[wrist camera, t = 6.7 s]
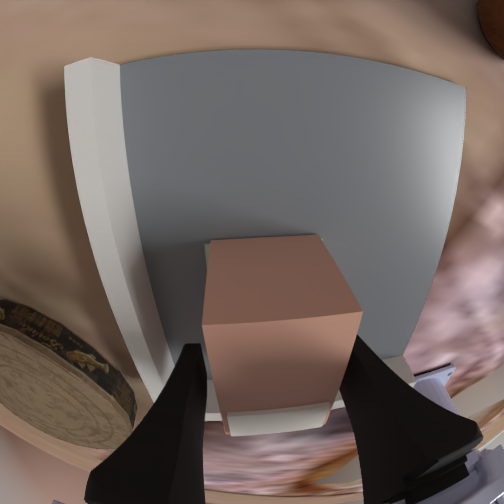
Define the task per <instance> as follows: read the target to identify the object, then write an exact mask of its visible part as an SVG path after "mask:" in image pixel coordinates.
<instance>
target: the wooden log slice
mask: <svg viewBox="0 0 504 504" xmlns="http://www.w3.org/2000/svg"><path fill="white" fill-rule="evenodd" d="M0 402H1V403H2V404H3V405H4V406H5V407H6V408H8V409H9V410H10V411H11V412H12V413H14V414H15V415H17V416H18V417H20V418H21V419H23V420H24V421H26V422H27V423H29V424H30V425H32V426H33V427H35V428H37V429H39V430H41V431H43V432H45V433H47V434H49V435H51V436H53V437H55V438H58V439H61V440H63V441H66V442H69V443H72V444H75V445H79V446H84V447H89V448H95V449H116V448H118V447H119V446H120V445H121V444H122V443H123V442H124V441H125V440H126V439H127V438H128V437H129V436H130V434H131V433H132V432H133V426H134V421H135V415H136V410H137V405H136V400H135V396H134V392H133V390H132V388H131V387H130V386H129V384H128V383H127V381H126V380H125V379H124V377H123V376H122V374H121V373H120V371H119V370H118V369H117V368H116V367H115V366H114V365H113V364H111V363H110V362H109V361H108V360H107V359H106V358H105V357H104V356H103V355H102V354H101V353H100V352H99V351H98V350H97V349H96V348H95V347H94V346H92V345H91V344H89V343H88V342H86V341H85V340H84V339H82V338H81V337H79V336H78V335H77V334H75V333H74V332H72V331H71V330H70V329H68V328H67V327H66V326H64V325H63V324H61V323H59V322H58V321H56V320H54V319H52V318H50V317H48V316H46V315H44V314H42V313H41V312H39V311H37V310H35V309H33V308H32V307H29V306H25V305H22V304H19V303H15V302H12V301H9V300H6V299H2V300H0Z"/></svg>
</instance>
